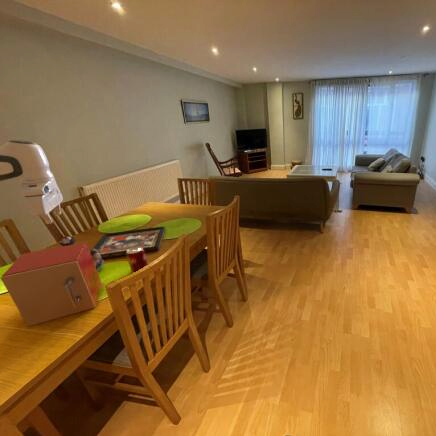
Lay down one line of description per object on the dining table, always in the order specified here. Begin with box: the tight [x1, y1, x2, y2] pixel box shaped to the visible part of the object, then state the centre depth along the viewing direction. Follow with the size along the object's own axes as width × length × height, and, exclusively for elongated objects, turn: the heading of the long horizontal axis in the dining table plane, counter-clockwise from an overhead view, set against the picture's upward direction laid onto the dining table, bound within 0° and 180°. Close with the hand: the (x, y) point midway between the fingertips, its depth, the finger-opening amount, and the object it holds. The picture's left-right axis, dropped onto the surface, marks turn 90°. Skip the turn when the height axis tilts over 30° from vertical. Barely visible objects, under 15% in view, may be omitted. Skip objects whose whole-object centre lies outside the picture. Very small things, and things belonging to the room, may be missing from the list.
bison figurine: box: [89, 247, 105, 273], centre depth 116 cm, size 12×7×10 cm, turn 14°
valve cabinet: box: [1, 241, 103, 307], centre depth 94 cm, size 16×20×22 cm
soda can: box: [125, 247, 149, 274], centre depth 116 cm, size 7×7×12 cm
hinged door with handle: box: [0, 261, 96, 327], centre depth 85 cm, size 6×20×21 cm, turn 119°
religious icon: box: [92, 226, 166, 259], centre depth 144 cm, size 38×35×3 cm
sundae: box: [58, 233, 77, 247], centre depth 127 cm, size 7×7×15 cm
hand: (54, 218), depth 96 cm, fingers open, 8 cm apart
